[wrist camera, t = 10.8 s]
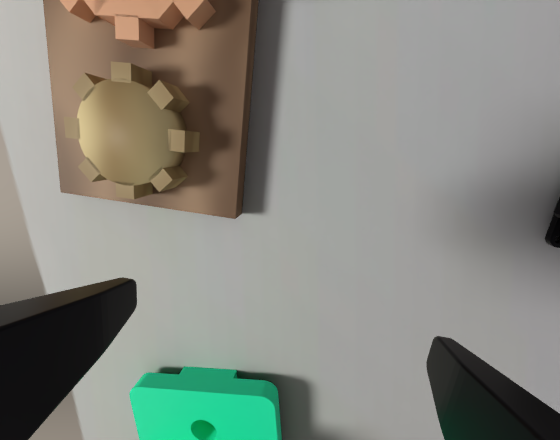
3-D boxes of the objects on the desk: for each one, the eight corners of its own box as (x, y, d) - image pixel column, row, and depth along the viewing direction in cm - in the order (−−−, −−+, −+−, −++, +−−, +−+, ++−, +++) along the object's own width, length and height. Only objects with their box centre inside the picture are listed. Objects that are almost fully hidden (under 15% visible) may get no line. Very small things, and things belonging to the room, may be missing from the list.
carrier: (272, -176, 15) (239, -372, 9) (241, 213, 21) (208, 240, 15) (50, -172, 17) (-95, -338, 11) (77, 189, 22) (-9, 204, 16)
